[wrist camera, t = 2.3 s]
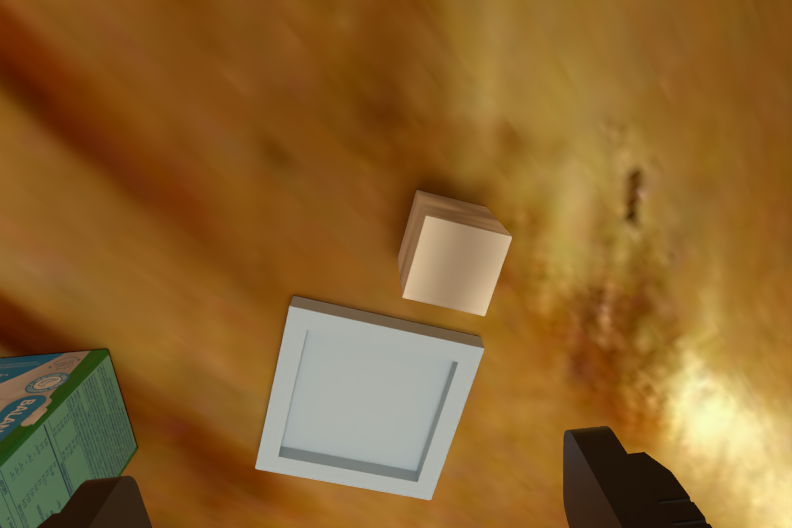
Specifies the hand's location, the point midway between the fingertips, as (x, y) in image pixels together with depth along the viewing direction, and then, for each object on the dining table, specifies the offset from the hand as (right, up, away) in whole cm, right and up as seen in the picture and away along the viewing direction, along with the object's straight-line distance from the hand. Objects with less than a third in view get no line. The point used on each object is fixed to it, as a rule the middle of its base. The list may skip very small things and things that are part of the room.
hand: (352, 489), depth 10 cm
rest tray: (-1, -6, +31) cm, 31 cm away
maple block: (+4, +6, +26) cm, 27 cm away
